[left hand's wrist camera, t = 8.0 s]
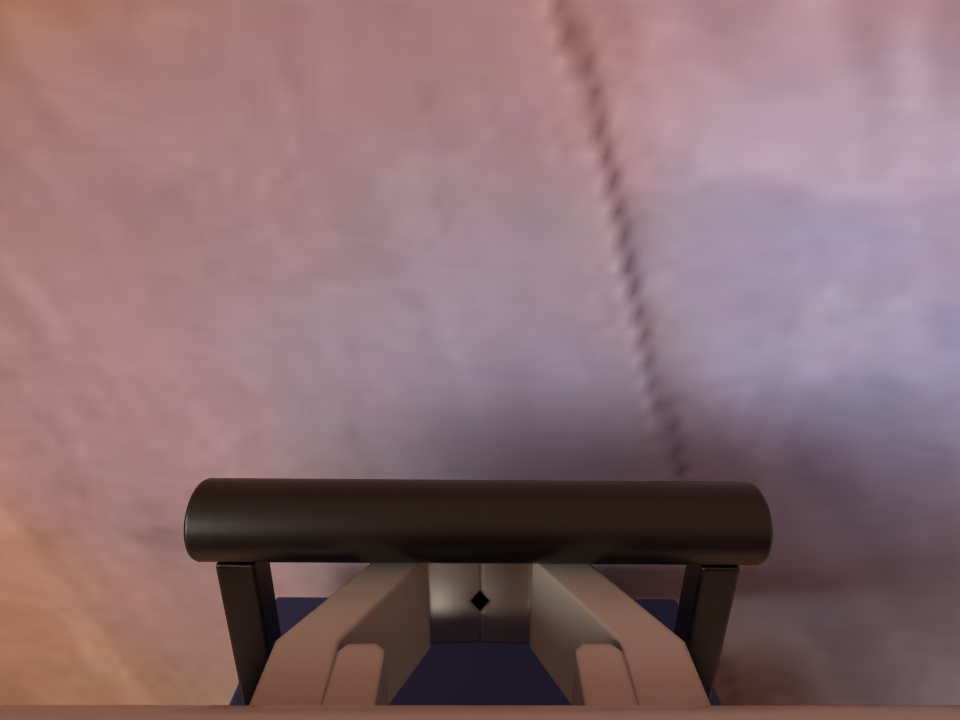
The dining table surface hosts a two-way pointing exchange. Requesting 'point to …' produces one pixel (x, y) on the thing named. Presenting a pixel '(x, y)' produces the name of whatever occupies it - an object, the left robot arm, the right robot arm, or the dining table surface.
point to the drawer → (475, 558)
